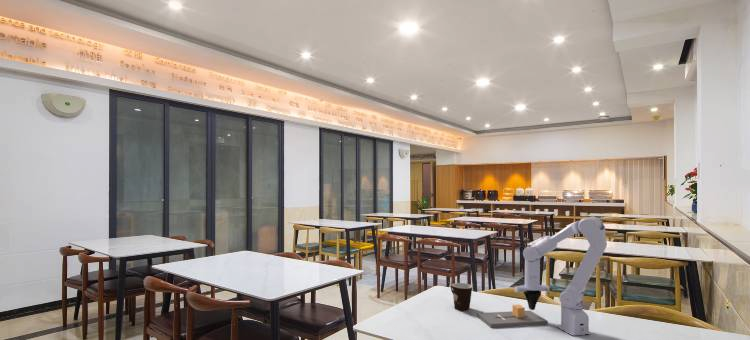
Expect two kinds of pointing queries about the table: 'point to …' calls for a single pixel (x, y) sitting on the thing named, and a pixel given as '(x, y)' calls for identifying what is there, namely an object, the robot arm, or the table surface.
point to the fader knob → (518, 311)
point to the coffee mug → (461, 296)
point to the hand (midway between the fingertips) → (531, 309)
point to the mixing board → (511, 319)
